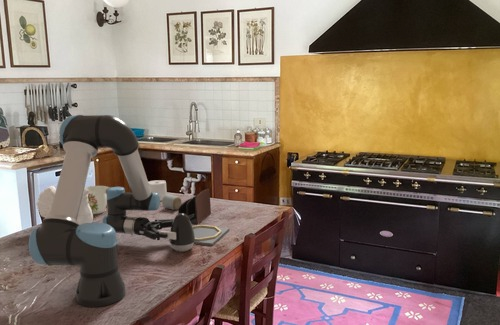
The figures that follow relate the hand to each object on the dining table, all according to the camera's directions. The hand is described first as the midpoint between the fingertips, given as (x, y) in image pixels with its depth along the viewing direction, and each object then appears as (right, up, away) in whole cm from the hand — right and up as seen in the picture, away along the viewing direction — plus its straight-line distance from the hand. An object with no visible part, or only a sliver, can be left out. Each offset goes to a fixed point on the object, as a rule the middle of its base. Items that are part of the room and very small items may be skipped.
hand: (183, 230), depth 183 cm
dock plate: (+5, -5, +17) cm, 18 cm away
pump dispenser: (0, -8, +1) cm, 8 cm away
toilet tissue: (-27, +6, +78) cm, 83 cm away
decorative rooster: (-57, -4, +26) cm, 63 cm away
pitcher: (-54, +1, +54) cm, 77 cm away
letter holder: (0, -1, +42) cm, 42 cm away
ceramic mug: (-14, +3, +60) cm, 62 cm away
